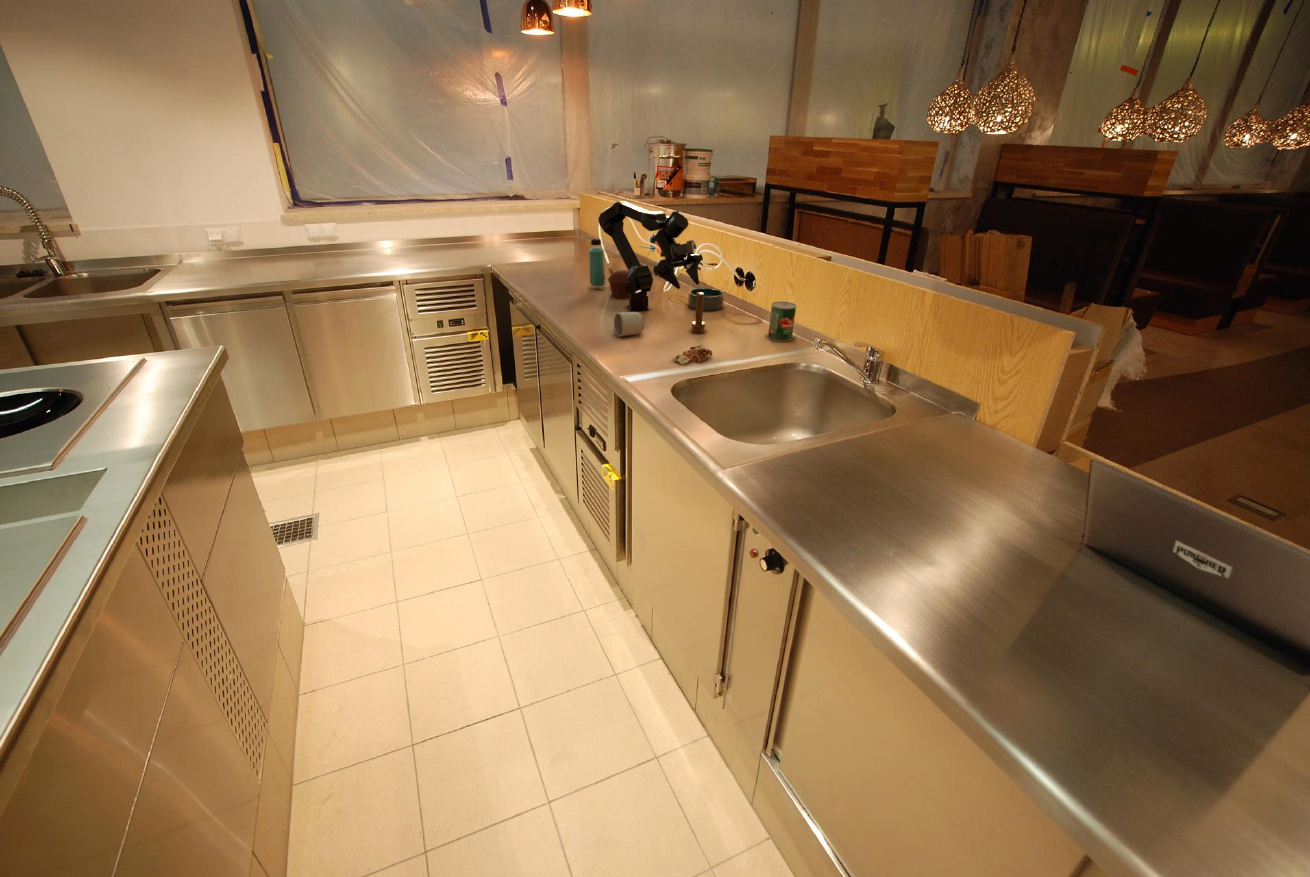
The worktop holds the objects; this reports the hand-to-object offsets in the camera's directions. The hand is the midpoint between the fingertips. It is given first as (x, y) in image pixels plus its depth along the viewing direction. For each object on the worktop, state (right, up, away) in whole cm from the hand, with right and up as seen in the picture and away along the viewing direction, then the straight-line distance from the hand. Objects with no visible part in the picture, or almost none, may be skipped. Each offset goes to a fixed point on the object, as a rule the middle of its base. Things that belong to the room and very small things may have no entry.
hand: (688, 286), depth 194 cm
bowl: (+8, -1, +27) cm, 28 cm away
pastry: (0, -28, -23) cm, 37 cm away
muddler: (+3, -15, 0) cm, 16 cm away
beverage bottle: (-36, +12, +49) cm, 62 cm away
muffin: (-25, +6, +39) cm, 46 cm away
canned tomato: (+30, -18, -5) cm, 35 cm away
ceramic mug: (-21, -17, -3) cm, 27 cm away
